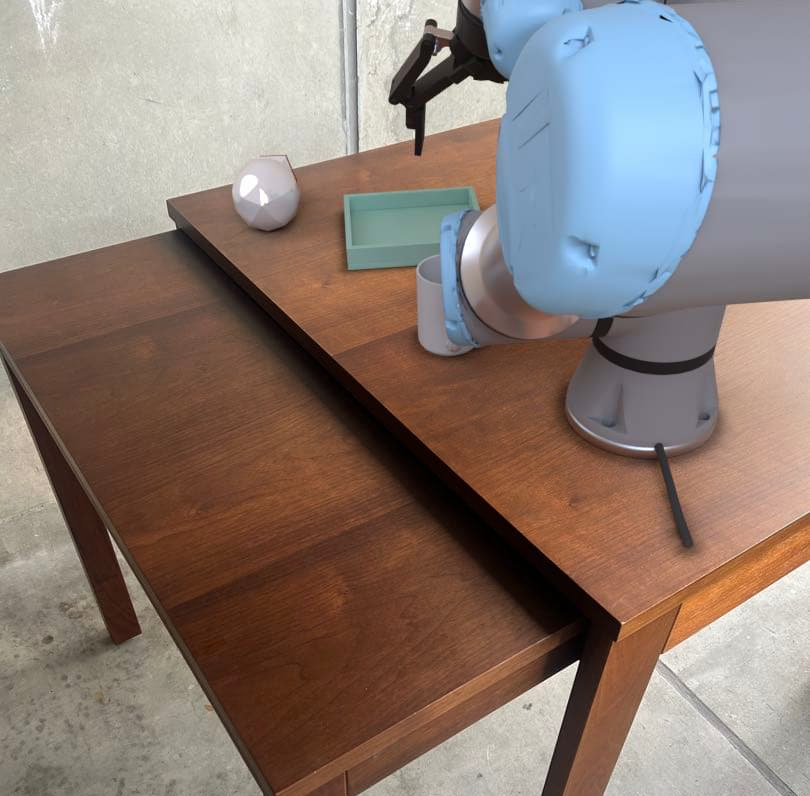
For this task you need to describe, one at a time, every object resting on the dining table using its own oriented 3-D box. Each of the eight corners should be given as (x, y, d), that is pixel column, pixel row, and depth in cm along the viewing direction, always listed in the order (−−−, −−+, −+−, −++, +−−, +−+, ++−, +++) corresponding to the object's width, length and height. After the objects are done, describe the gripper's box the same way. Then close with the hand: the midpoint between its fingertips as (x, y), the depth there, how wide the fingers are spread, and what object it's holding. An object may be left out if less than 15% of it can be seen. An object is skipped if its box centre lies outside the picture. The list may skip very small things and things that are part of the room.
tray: (489, 260, 114) (489, 239, 112) (348, 270, 113) (346, 248, 111) (472, 206, 126) (473, 185, 123) (345, 214, 125) (343, 194, 123)
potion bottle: (259, 254, 120) (272, 219, 132) (311, 210, 117) (320, 178, 128) (211, 200, 116) (229, 168, 128) (263, 153, 112) (277, 125, 124)
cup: (474, 321, 103) (476, 251, 97) (488, 368, 96) (491, 296, 90) (415, 326, 103) (413, 256, 97) (424, 373, 96) (422, 301, 90)
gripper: (643, -21, 78) (591, 141, 98) (369, -58, 79) (375, 111, 99) (635, 48, 76) (584, 198, 97) (355, 9, 77) (364, 167, 97)
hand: (478, 154), depth 98 cm, fingers open, 13 cm apart
